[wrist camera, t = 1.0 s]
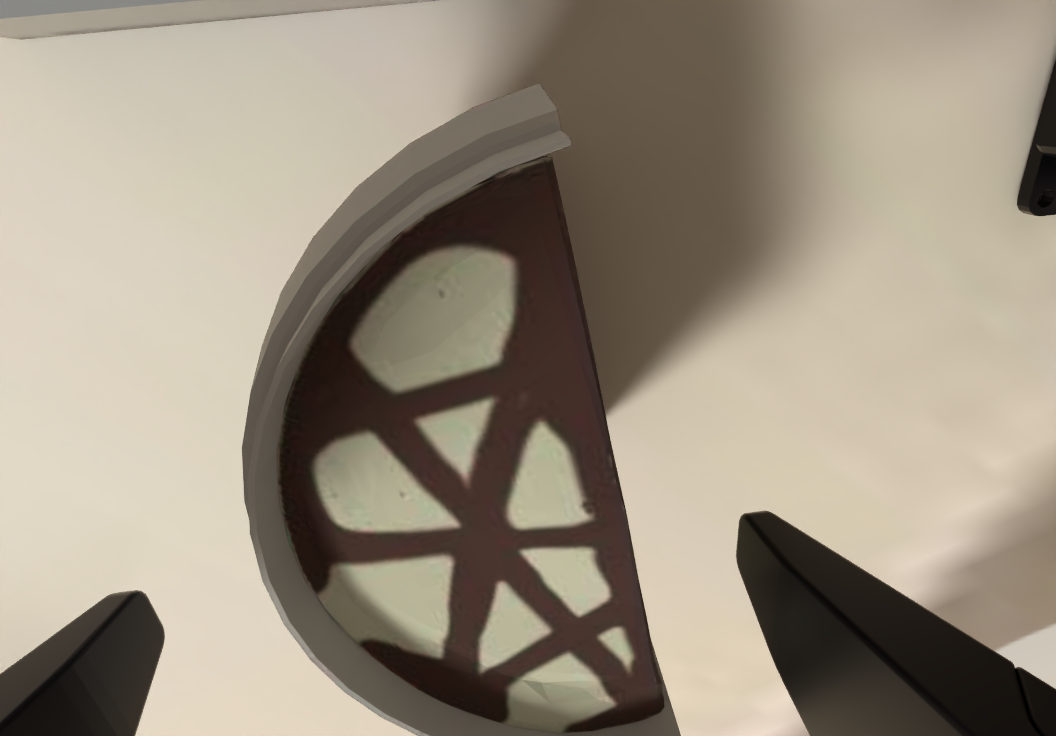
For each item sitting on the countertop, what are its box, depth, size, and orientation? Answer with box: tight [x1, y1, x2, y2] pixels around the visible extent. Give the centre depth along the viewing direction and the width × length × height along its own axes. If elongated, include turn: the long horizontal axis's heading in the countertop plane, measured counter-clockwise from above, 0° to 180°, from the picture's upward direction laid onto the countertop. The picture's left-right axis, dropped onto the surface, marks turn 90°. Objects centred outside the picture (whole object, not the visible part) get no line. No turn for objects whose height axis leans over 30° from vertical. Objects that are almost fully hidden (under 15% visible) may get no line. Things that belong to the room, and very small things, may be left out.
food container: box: [242, 83, 681, 736], centre depth 13 cm, size 12×6×10 cm, turn 13°
